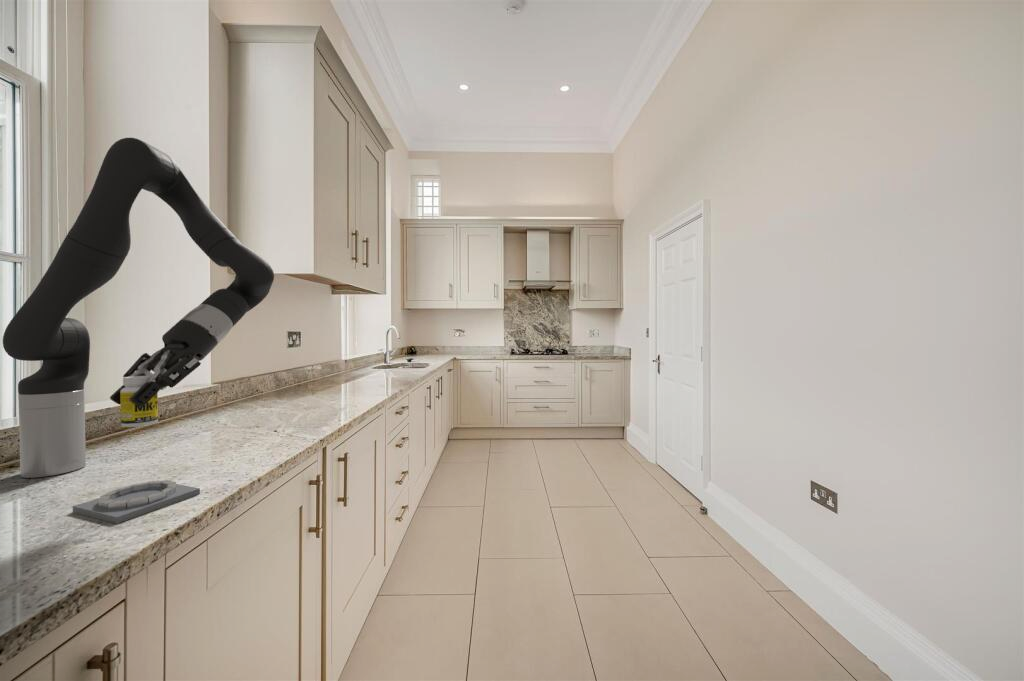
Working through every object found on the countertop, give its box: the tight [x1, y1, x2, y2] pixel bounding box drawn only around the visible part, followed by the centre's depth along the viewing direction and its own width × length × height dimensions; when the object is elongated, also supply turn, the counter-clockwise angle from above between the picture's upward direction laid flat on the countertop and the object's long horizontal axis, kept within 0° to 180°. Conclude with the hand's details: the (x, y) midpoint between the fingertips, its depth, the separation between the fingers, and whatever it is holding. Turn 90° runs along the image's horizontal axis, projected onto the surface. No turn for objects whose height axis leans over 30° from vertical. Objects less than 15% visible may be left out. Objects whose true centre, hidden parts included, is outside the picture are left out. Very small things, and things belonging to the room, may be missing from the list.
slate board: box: [72, 483, 201, 524], centre depth 69 cm, size 12×12×1 cm
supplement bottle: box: [119, 376, 159, 428], centre depth 69 cm, size 5×5×8 cm
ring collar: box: [98, 479, 177, 510], centre depth 69 cm, size 10×10×1 cm
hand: (125, 402), depth 67 cm, fingers closed on supplement bottle, 4 cm apart
